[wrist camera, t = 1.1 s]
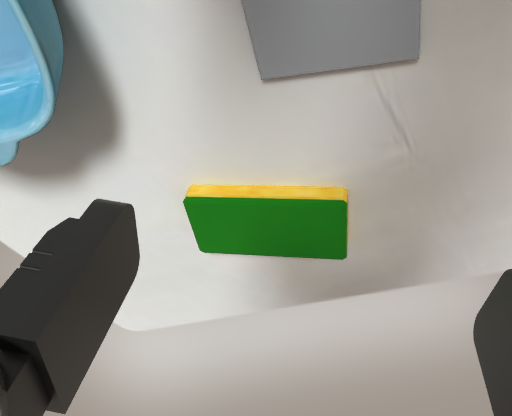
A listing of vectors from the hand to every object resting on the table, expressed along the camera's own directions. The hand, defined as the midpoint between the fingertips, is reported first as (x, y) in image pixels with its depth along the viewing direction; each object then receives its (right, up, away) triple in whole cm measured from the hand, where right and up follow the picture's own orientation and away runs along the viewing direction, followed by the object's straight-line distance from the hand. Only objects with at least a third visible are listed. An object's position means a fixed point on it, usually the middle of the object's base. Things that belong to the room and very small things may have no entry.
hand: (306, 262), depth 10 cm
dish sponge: (0, +1, +30) cm, 30 cm away
